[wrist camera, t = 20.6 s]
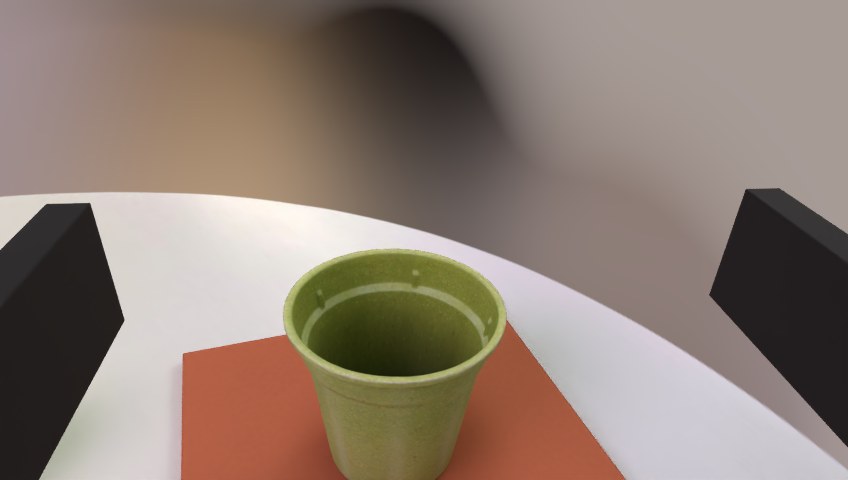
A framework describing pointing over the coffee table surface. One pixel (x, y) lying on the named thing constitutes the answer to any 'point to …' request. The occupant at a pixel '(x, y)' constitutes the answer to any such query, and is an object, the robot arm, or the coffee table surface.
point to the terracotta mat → (306, 435)
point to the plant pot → (393, 355)
